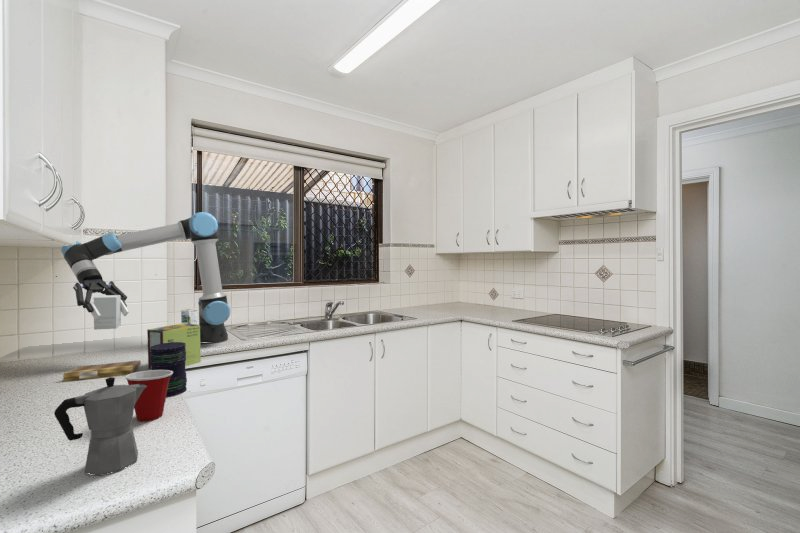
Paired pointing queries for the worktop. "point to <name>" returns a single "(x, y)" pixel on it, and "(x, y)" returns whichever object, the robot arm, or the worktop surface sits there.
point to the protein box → (177, 340)
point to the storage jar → (171, 364)
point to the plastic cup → (150, 393)
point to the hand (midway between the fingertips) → (112, 315)
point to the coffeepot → (105, 425)
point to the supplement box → (108, 311)
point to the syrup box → (189, 316)
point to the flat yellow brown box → (102, 370)
